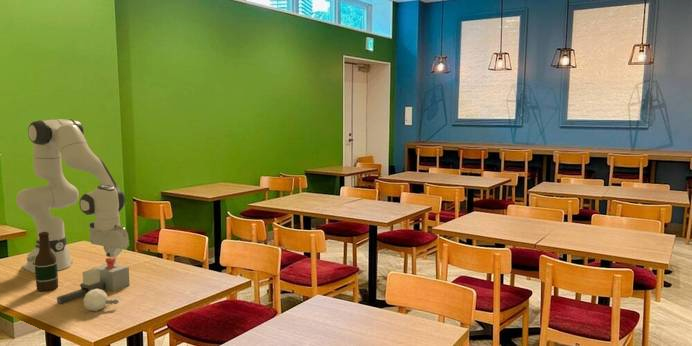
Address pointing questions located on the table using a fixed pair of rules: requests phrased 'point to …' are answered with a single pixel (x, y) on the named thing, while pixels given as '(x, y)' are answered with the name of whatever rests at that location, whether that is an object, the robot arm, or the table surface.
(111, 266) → the plunger
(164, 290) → the table surface
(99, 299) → the perfume bottle
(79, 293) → the rail
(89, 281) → the cream box
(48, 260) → the beer bottle
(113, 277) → the grey holed block
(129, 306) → the table surface
